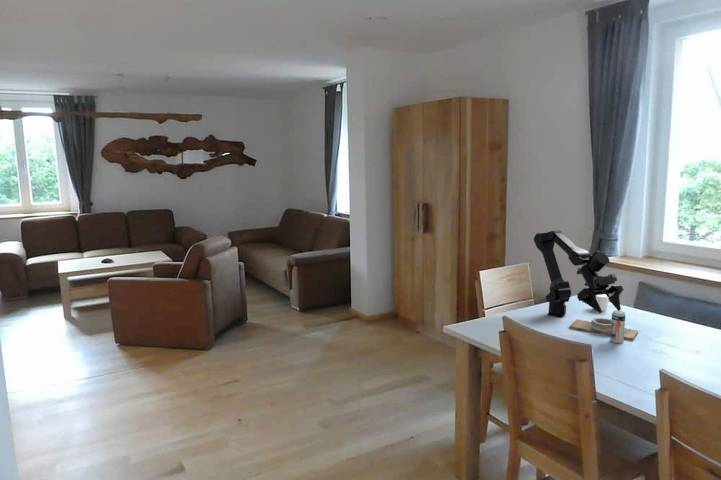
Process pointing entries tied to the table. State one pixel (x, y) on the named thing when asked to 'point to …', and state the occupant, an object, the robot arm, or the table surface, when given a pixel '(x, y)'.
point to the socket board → (601, 327)
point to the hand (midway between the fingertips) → (610, 311)
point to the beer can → (617, 326)
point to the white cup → (602, 301)
